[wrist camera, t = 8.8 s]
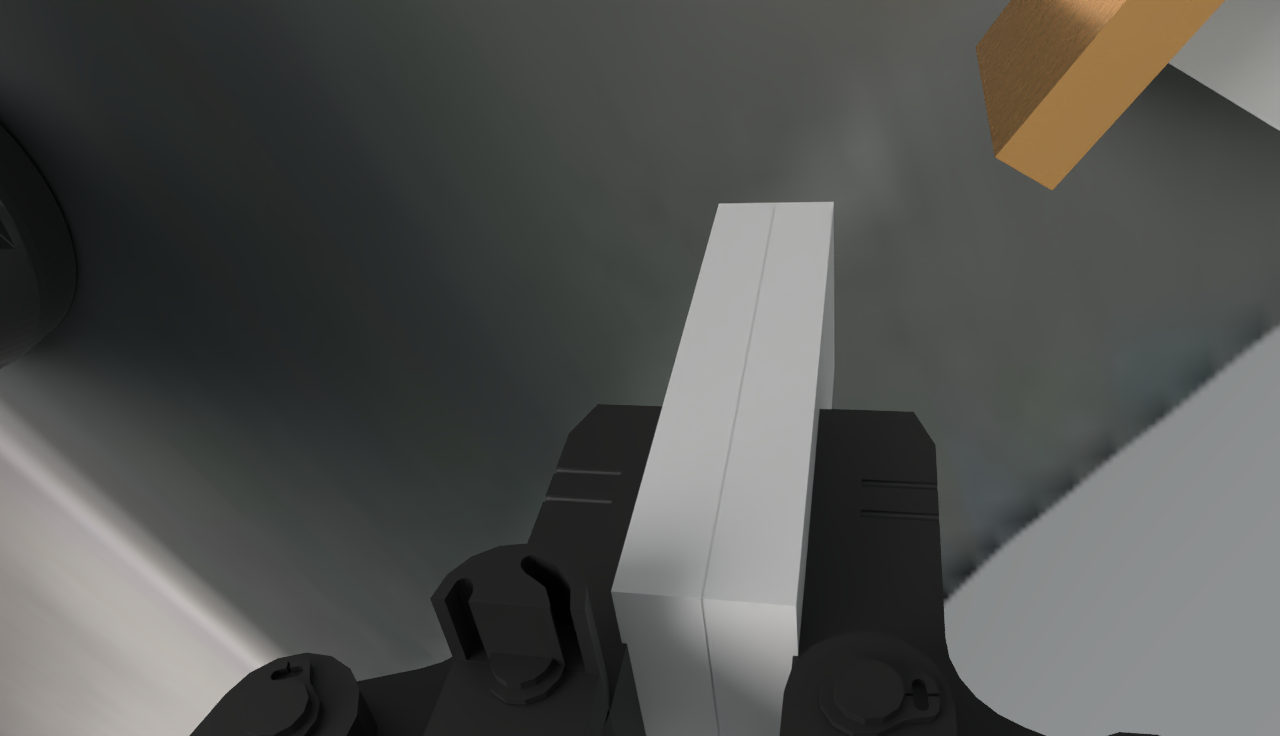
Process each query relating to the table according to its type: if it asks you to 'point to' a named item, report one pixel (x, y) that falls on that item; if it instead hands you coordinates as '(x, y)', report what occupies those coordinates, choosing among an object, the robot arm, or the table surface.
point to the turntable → (1074, 72)
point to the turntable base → (1239, 56)
